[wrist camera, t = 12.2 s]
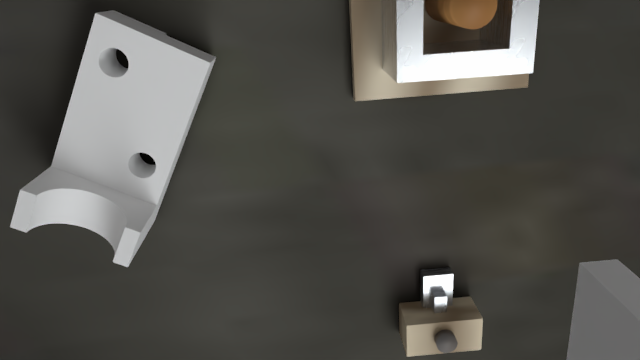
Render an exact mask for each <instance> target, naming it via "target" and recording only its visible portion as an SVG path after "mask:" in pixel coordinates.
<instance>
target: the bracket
mask: <svg viewBox="0 0 640 360" xmlns="http://www.w3.org/2000/svg"><path fill="white" fill-rule="evenodd" d="M166 34H167V33H164V32H162V31H160V30H158V29H155V28H153V27H151V26H149V25H146V24H144V23H142V22H139V21H137V20H135V19H133V18H130V17H128V16H126V15H123V14H121V13H119V12H117V11H114V10H111V11H105V12H98V13H95V16H94V19H93V23H92V26H91V30H90V33H89V37H88V40H87V44H86V47H85V51H84V54H83V57H82V61H81V64H80V68H79V71H78V75H77V78H76V82H75V85H74V89H73V92H72V96H71V99H70V102H69V106H68V109H67V113H66V116H65V120H64V123H63V127H62V130H61V134H60V137H59V140H58V144H57V147H56V151H55V154H54V158H53V161H52V165H51V167H49V168H48V169H47V170H45V171H44V172H43V173H41V174H40V175H39V176H38V177H36V178H35V179H34V180H32V181H31V182H30V183H28V184H27V185H26V186H24V187H23V188H22V189H20V192H19V196H18V200H17V203H16V207H15V211H14V214H13V218H12V222H11V225H10V227H11V228H14V229H17V230H20V231H23V232H28V231H29V230H31V229H32V228H34V227H37V226H40V225H45V224H53V223H62V224H71V225H77V226H81V227H84V228H87V229H90V230H92V231H94V232H96V233H98V234H100V235H101V236H103V237H104V238H105V239H106V240H108V241H109V243H110V244H111V245H112V247H113V249H114V252H115V257H114V260H113V262H114V263H117V264H120V265H123V266H125V267H128V266H129V264H130V263H131V261H132V259H133V257H134V256H135V254H136V252H137V250H138V249H139V247H140V245H141V243H142V242H143V240H144V238H145V237H146V235H147V233H148V231H149V230H150V228H151V226H152V224H153V223H154V221H155V219H156V216H157V213H158V211H159V208H160V205H161V203H162V200H163V197H164V195H165V192H166V189H167V187H168V184H169V181H170V179H171V176H172V173H173V171H174V168H175V165H176V163H177V160H178V157H179V155H180V152H181V149H182V147H183V144H184V142H185V139H186V136H187V134H188V131H189V128H190V126H191V123H192V120H193V118H194V115H195V112H196V110H197V107H198V104H199V102H200V99H201V96H202V94H203V91H204V88H205V86H206V83H207V80H208V78H209V75H210V72H211V70H212V67H213V65H214V62H215V59H216V57H215V56H212V55H210V54H208V53H205V52H203V51H201V50H199V49H196V48H194V47H192V46H190V45H187V44H185V43H183V42H180V41H178V40H176V39H174V38H171V37H169V36H167V35H166ZM117 49H119V50H120V51H122V52H123V53H124V54H125V55H126V57H127V59H128V63H129V66H128V69H127V68H125V67H123V66H122V65H121V64H120V63H119V62H118V60H117V57H116V50H117ZM140 153H146V154H148V155H150V156H151V157H152V158H153V159H154V161H155V164H156V165H150V164H147V163H145V162H144V161H143V160H142V159H141V157H140Z"/></svg>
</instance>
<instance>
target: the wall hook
mask: <svg viewBox="0 0 640 360" xmlns="http://www.w3.org/2000/svg"><path fill="white" fill-rule="evenodd" d="M420 301H421V304H422V306H423V308H431V307H432V309H433V311H434V313H444V312H447V306H452V303H453V272H452V270H451V269H450V267H447V268H436V269H425V270H420Z"/></svg>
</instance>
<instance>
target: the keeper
mask: <svg viewBox="0 0 640 360" xmlns="http://www.w3.org/2000/svg"><path fill="white" fill-rule="evenodd" d="M496 10H497V0H424V10H423V44H424V43H438V42H452V41H465V40H479V32H480V28H481V27H483V26H485V25H487V24H488V23H489V22H490V21H491V20H492V18H493V17H494V15H495V13H496ZM349 11H350V32H351V54H352V76H353V98H354V100H355V101H364V100H376V99H389V98H401V97H413V96H426V95H438V94H450V93H463V92H475V91H487V90H500V89H512V88H524V87H528V78H529V73H527V74H513V75H500V76H486V77H472V78H459V79H445V80H432V81H418V82H405V83H396V82H395V81H394V80H393V79H392V78H391V77H390V76H389V75H388V74H387V73H386V72H385V71H384V70H383V69H382V16H381V0H349Z"/></svg>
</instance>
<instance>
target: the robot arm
mask: <svg viewBox="0 0 640 360" xmlns="http://www.w3.org/2000/svg"><path fill="white" fill-rule="evenodd" d="M567 360H640V278H639V277H638V276H636V275H635V274H634V273H633V272H632V271H630V270H629V269H628V268H627V267H626V266H624V265H623V264H622V263H621V262H620V261H619V260H617V259H616V260H605V261H594V262H583V263H580V264H579V272H578V279H577V286H576V294H575V301H574V309H573V316H572V323H571V331H570V338H569V345H568V353H567Z"/></svg>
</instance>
